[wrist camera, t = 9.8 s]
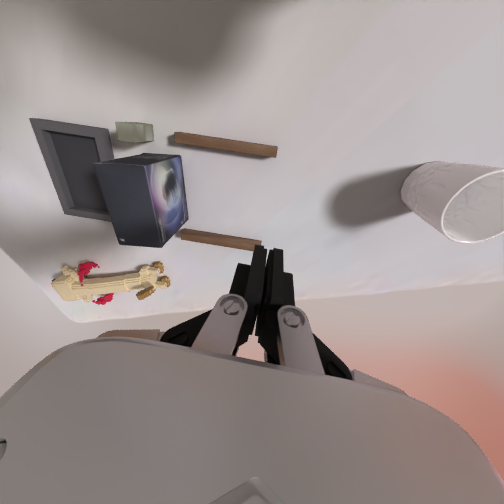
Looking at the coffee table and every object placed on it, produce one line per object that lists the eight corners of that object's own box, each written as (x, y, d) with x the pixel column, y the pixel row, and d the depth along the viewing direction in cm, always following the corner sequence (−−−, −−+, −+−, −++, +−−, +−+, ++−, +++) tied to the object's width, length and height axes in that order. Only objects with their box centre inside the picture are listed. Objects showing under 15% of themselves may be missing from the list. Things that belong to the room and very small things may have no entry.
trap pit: (39, 118, 30) (29, 118, 29) (108, 128, 30) (100, 129, 29) (71, 211, 38) (64, 214, 37) (127, 220, 38) (121, 223, 36)
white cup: (428, 145, 27) (497, 153, 19) (472, 173, 28) (556, 193, 20) (383, 197, 31) (423, 224, 23) (423, 221, 32) (476, 254, 24)
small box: (191, 220, 37) (163, 250, 28) (156, 217, 37) (117, 246, 28) (183, 154, 31) (145, 165, 22) (141, 152, 31) (88, 162, 23)
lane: (138, 122, 29) (115, 121, 25) (278, 143, 29) (278, 146, 25) (153, 231, 38) (138, 244, 34) (260, 248, 38) (258, 263, 34)
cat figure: (159, 248, 42) (49, 263, 45) (138, 274, 34) (6, 290, 37) (176, 286, 47) (76, 298, 49) (161, 316, 39) (43, 328, 42)
